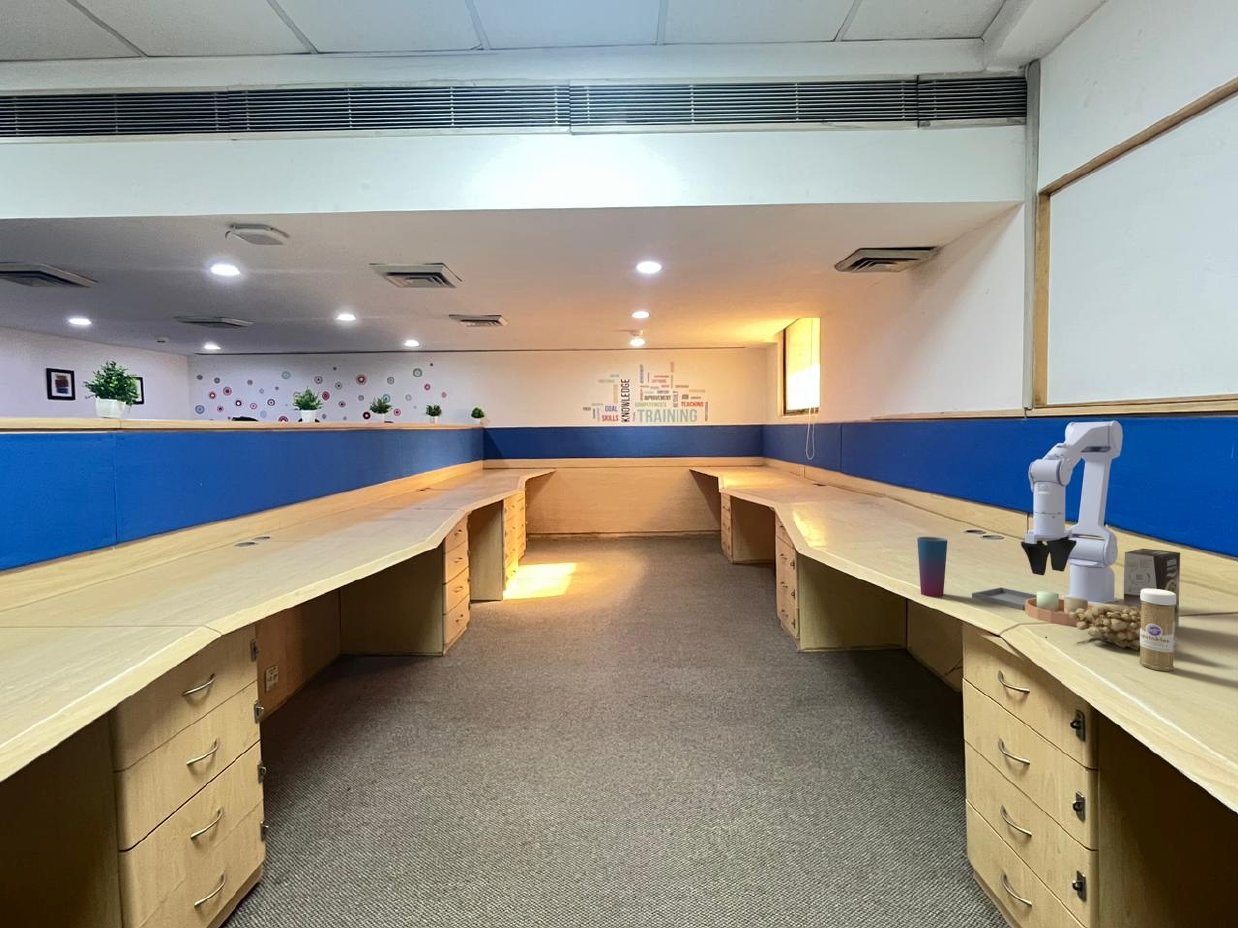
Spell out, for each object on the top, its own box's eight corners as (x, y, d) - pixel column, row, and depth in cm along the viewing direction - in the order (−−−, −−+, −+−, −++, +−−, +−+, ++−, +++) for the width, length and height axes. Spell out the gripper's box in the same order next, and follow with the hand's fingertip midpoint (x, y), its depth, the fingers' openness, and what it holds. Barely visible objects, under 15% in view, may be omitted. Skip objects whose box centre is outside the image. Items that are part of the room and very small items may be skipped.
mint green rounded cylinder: (1043, 609, 132) (1043, 590, 132) (1062, 614, 128) (1062, 594, 128) (1032, 611, 131) (1032, 592, 130) (1051, 616, 127) (1051, 596, 127)
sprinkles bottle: (1139, 667, 100) (1141, 591, 99) (1138, 659, 103) (1139, 586, 103) (1176, 674, 97) (1177, 595, 97) (1173, 665, 100) (1175, 590, 100)
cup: (951, 600, 143) (951, 541, 142) (921, 599, 144) (921, 540, 143) (941, 593, 149) (942, 536, 149) (913, 592, 151) (913, 536, 150)
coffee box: (1161, 635, 116) (1162, 556, 115) (1121, 626, 121) (1122, 551, 121) (1180, 628, 120) (1182, 551, 119) (1141, 619, 126) (1142, 547, 125)
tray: (1000, 594, 148) (1000, 587, 148) (1052, 605, 137) (1052, 598, 137) (971, 600, 143) (971, 592, 143) (1022, 612, 132) (1023, 604, 132)
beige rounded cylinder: (1070, 616, 127) (1070, 595, 127) (1091, 620, 124) (1091, 600, 123) (1060, 618, 125) (1060, 598, 125) (1081, 623, 122) (1081, 602, 122)
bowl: (1046, 607, 136) (1046, 595, 136) (1113, 623, 124) (1114, 609, 124) (1012, 615, 130) (1012, 602, 130) (1079, 632, 118) (1079, 618, 118)
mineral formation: (1184, 660, 103) (1082, 645, 108) (1146, 647, 115) (1056, 635, 120) (1185, 615, 103) (1083, 602, 109) (1147, 607, 116) (1058, 596, 121)
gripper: (1048, 508, 135) (1047, 565, 136) (1010, 512, 129) (1010, 572, 130) (1082, 511, 129) (1082, 571, 129) (1044, 516, 123) (1044, 579, 123)
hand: (1048, 572), depth 129 cm, fingers open, 7 cm apart
